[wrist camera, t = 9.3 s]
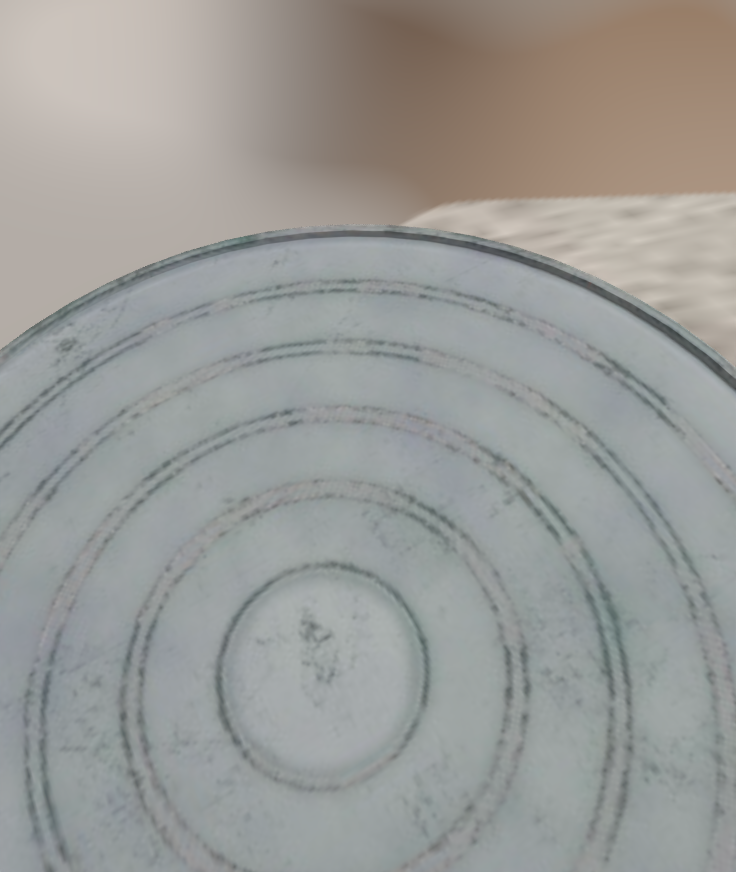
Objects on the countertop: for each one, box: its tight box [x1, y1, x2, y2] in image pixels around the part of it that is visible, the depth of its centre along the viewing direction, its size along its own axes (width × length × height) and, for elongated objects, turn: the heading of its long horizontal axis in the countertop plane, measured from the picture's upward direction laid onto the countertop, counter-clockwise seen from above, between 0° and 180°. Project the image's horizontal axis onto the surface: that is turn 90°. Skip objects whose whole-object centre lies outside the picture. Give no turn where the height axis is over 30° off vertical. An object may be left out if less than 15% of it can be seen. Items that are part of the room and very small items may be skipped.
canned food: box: [0, 224, 736, 872], centre depth 12 cm, size 11×11×12 cm
